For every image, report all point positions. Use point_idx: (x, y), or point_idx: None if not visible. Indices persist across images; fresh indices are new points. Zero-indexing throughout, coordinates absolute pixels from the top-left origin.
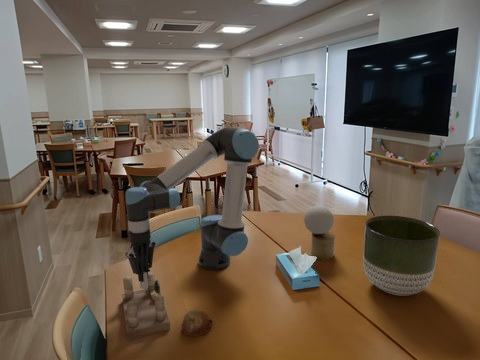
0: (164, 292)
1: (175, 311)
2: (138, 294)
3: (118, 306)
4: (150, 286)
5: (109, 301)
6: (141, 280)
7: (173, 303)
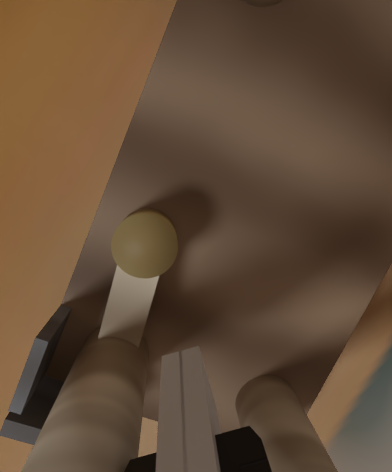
0: (16, 334)
1: (74, 72)
2: None
3: None
4: (124, 370)
5: None
6: (259, 448)
7: (33, 172)
